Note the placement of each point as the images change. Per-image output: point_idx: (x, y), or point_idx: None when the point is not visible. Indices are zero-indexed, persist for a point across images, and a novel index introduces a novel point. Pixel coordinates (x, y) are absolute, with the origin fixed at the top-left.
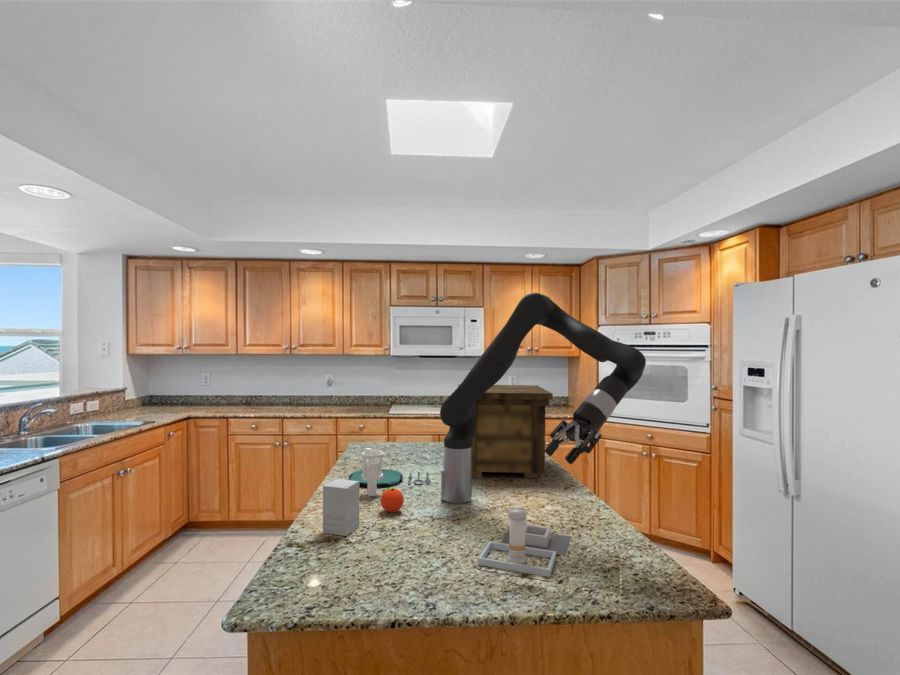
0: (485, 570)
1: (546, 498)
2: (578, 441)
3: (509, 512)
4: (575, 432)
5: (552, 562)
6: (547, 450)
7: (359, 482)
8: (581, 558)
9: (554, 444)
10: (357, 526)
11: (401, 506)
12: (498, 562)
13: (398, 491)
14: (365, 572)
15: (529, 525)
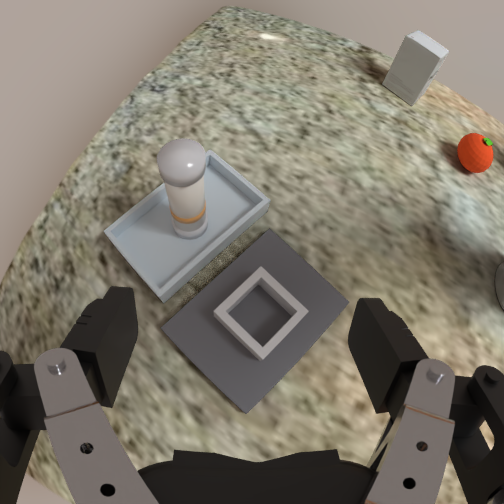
0: None
1: None
2: (54, 398)
3: (186, 140)
4: (147, 491)
5: (123, 255)
6: (362, 306)
7: None
8: (155, 369)
9: (384, 366)
10: (407, 101)
11: (467, 166)
12: None
13: (482, 148)
14: (271, 65)
15: (300, 317)
